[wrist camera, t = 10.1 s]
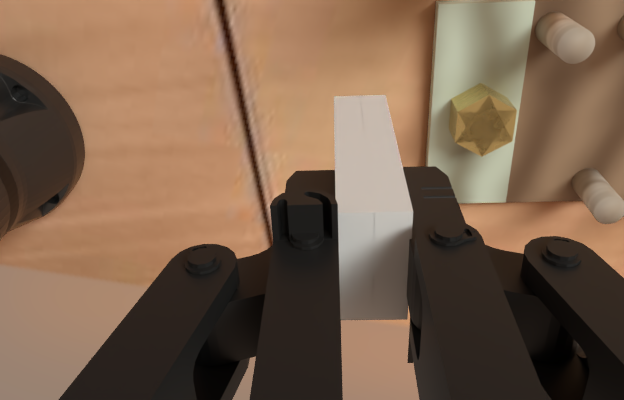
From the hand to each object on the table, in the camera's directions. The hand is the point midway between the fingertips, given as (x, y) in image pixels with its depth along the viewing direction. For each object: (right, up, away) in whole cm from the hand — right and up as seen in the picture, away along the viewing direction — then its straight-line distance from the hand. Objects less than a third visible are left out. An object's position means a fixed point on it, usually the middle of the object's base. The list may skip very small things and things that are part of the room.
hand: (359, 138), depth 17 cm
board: (+20, +6, +30) cm, 36 cm away
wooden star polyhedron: (+12, +5, +29) cm, 32 cm away
